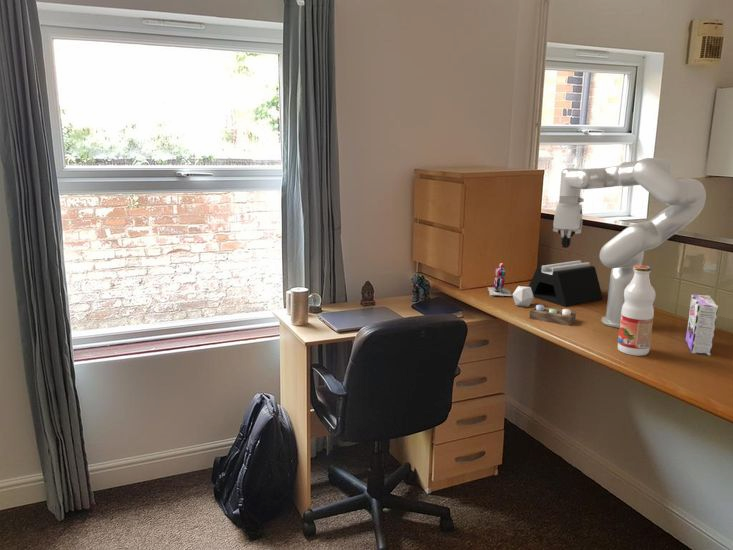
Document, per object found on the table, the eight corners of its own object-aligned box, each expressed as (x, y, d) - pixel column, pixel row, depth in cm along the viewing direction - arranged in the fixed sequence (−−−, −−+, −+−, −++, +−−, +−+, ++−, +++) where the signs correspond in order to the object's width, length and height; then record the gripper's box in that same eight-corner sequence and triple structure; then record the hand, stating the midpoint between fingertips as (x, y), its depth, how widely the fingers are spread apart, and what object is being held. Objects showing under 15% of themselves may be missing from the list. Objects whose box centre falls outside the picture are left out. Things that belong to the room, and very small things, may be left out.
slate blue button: (544, 314, 222) (545, 305, 222) (542, 316, 220) (542, 307, 219) (537, 312, 224) (537, 304, 223) (534, 314, 222) (535, 306, 221)
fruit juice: (651, 357, 181) (661, 270, 174) (618, 354, 184) (627, 268, 177) (646, 347, 189) (656, 264, 183) (615, 344, 192) (624, 262, 186)
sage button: (557, 318, 220) (558, 309, 219) (555, 320, 217) (555, 311, 217) (549, 316, 221) (550, 308, 221) (547, 318, 219) (547, 309, 218)
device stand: (525, 295, 255) (527, 261, 251) (561, 288, 266) (564, 257, 262) (565, 307, 236) (568, 271, 232) (602, 300, 247) (606, 266, 243)
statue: (511, 300, 251) (515, 267, 245) (490, 299, 251) (493, 266, 246) (508, 290, 261) (511, 259, 256) (487, 289, 262) (489, 258, 256)
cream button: (571, 318, 217) (571, 309, 216) (568, 320, 214) (569, 311, 214) (563, 317, 218) (563, 308, 218) (560, 319, 216) (561, 310, 215)
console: (575, 320, 218) (576, 312, 218) (569, 325, 212) (570, 317, 211) (536, 313, 227) (537, 306, 226) (529, 318, 220) (529, 310, 220)
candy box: (684, 339, 197) (691, 293, 193) (704, 342, 195) (711, 295, 191) (690, 353, 185) (697, 303, 181) (711, 355, 183) (718, 305, 179)
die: (535, 305, 240) (525, 285, 243) (539, 300, 232) (529, 279, 234) (517, 313, 240) (507, 292, 242) (521, 308, 231) (510, 286, 234)
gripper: (591, 201, 223) (587, 247, 227) (553, 198, 231) (549, 243, 236) (586, 202, 217) (582, 250, 221) (547, 200, 225) (543, 246, 230)
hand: (565, 247), depth 228 cm, fingers closed
